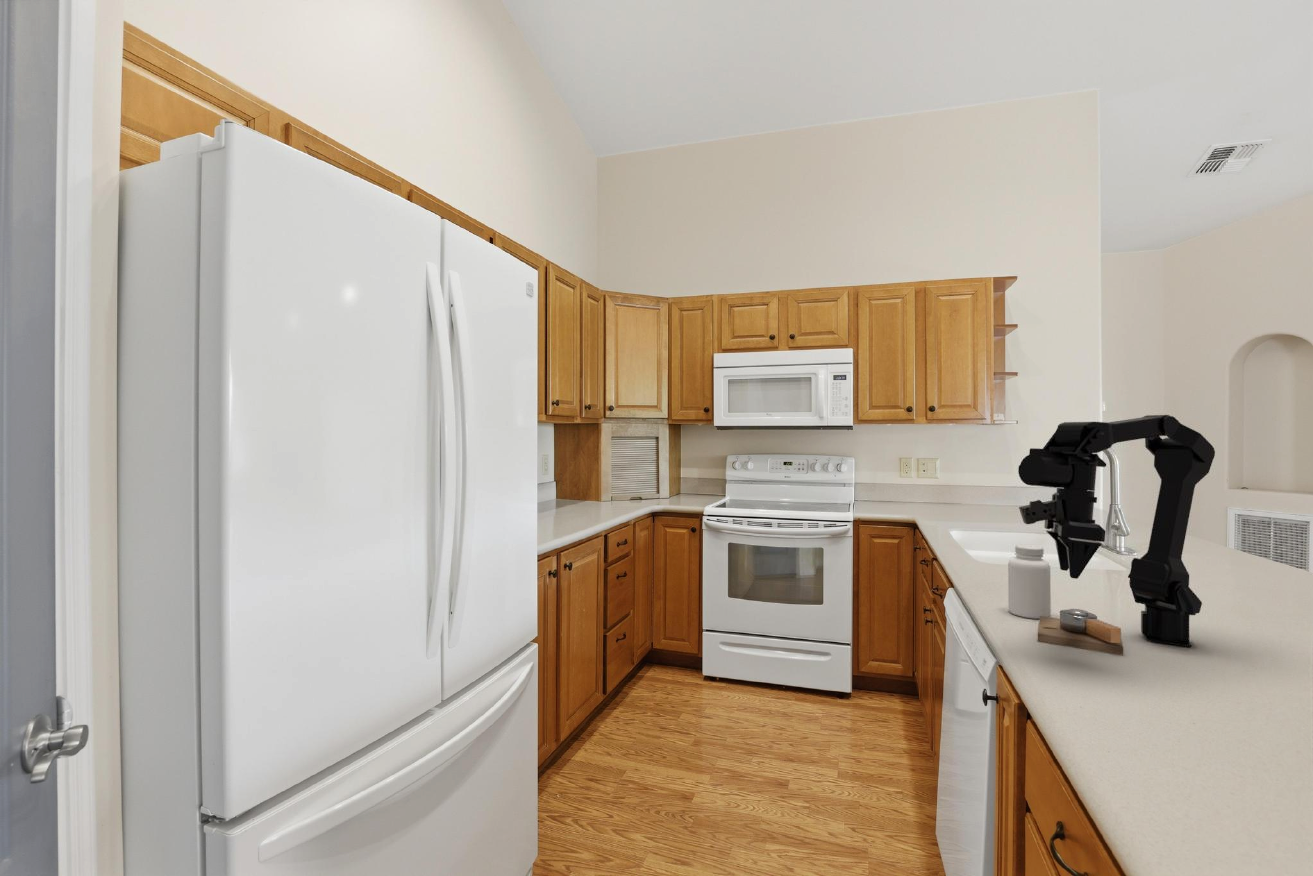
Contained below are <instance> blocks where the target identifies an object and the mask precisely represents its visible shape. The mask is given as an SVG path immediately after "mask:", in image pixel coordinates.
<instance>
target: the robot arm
mask: <svg viewBox="0 0 1313 876" xmlns="http://www.w3.org/2000/svg"><path fill="white" fill-rule="evenodd" d="M1162 437H1165V438H1162ZM1143 439H1144V440H1145V441H1144V442H1145V443H1144V447H1145V448H1146V449H1147V450H1148V451H1149V453H1151V455H1152V456H1153V457H1154V459H1153V468H1154V469H1155V471H1156V473H1157V475H1158V476H1159V478H1160V485H1159V486H1160V487H1159V492H1158V495H1157V502H1156V507H1155V512H1154V518H1153V523H1152V527H1151V533H1150V538H1149V543H1148V548H1147V551H1146V552H1145V554H1144V555H1143V556H1142V557H1140V558H1137V557H1134V558H1132V560H1131V564H1130V571H1129V573H1128V576H1127V578H1128V579H1129V583H1128V584H1129V588H1130V589H1131V592H1132V593H1131V594H1132V596H1133V599H1134V602H1135V603H1136V604H1141V605H1144V610H1141V611H1140V632H1141V634H1142V635H1143V636H1144V637H1145V640H1146V641H1148V642H1153V643H1154V642H1155V643H1161V644H1168V645H1176V646H1181V647H1187V648H1188V647H1189V648H1191V647H1192V643H1191V641H1190V616H1196V614H1200V613H1201V608H1202V605H1203V602H1202V600H1201V599H1200V598H1199V597H1198V595H1196V593H1195V592H1194V591H1193V589H1192V588H1190V574H1189V572H1188V569H1187V568H1186V565H1185V564H1184V562H1183V560H1182V558H1183V551H1184V545H1185V539H1186V536H1187V530H1188V526H1189V525H1188V524H1189V519H1190V514H1191V508H1192V504H1193V503H1192V502H1193V500H1194V499H1193V498H1194V493H1195V487H1196V485H1197V484H1198V483H1199V482H1201V481H1202V480H1203V479H1204V478H1205V477H1206V476H1207V475H1208V474H1209V473H1210V470H1211V467H1212V464H1213V461H1214V459H1215V456H1216V451H1215V448H1214V446H1213V445H1212V443H1210V442H1209V440H1207V439H1206V437H1205V436H1204V435H1202V433H1200V432H1198V430H1197V431H1196V430H1195V429H1192V428H1190V427H1189V426H1186V425H1184V424H1182V423H1181V422H1180V421H1179V420H1178V419H1177V418H1176V417H1174V416H1172V415H1169V414H1155V415H1154V414H1152V415H1151V414H1150V415H1149V414H1148V415H1145V416H1142V417H1136V418H1128V419H1122V420H1117V421H1116V420H1115V421H1110V422H1106V421H1072V422H1071V421H1064V422H1061V423H1059V424H1058V425H1057V427H1056V431H1055V432H1054V433H1053V434H1052V435H1051V437H1050V438H1049V439H1048V441H1047V442H1046V444H1045V445H1044V446H1043V448H1034V447H1033V448H1029V452H1028V453H1029V454H1028V455H1026V456H1025V457H1024V458H1023V459H1022V460H1021V462H1020V464H1019V465H1018V476H1019V479H1020V481H1022V482H1023V483H1024V484H1025V485H1027V486H1032V487H1043V488H1044V487H1045V488H1056V492H1054V493H1052V495H1051V500H1048V501H1041V499H1037V500H1033V501H1029V504H1026V505H1021V506H1018V509H1019V512H1020V515H1021V519H1022V522H1023V523H1024V524H1025V525H1032V524H1033V525H1034V524H1035V523H1037V522H1042V521H1044V529H1045V532H1046V533H1047V535H1048V536H1050V537H1051V538H1052V539H1053V540H1054V542H1055V543H1054V544H1055V547H1056V554H1057V559H1058V563H1059V569H1060V570H1061V571H1066V572H1067V571H1069V576H1070V578H1071V579H1079V577H1080V576H1081V575H1082V573H1083V572H1084V570H1085V568H1086V567H1087V565H1088V564H1089V562H1091V560H1092V558H1093V556H1094V555H1095V553H1096V552H1097V551H1098V550H1099V548H1100V547H1102V543H1105V541H1106V530H1105V529H1104V528H1103V527H1102V526H1101V525H1100V524H1098V523H1096V519H1093V517H1094V504H1095V503H1097V502H1098V497H1097V496H1095V494H1096V493H1095V491H1096V481H1097V479H1096V478H1097V477H1096V476H1097V467H1099V468H1106V467H1107V463H1106V462H1105V461H1104V460H1103V459H1102V458H1100V455H1098V453H1101V452H1103V451H1106V450H1108V449H1110V448H1112V446H1113V445H1115V444H1118V443H1122V442H1129V441H1130V442H1131V441H1136V440H1143Z"/></svg>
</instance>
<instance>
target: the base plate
mask: <svg viewBox="0 0 1313 876" xmlns="http://www.w3.org/2000/svg"><path fill="white" fill-rule="evenodd" d="M1115 626H1116V625H1115ZM1116 627H1118V626H1116ZM1122 641H1123V640H1121V643H1110V642H1107V641H1105V640H1102V639H1100V638H1097V637H1095V636H1093V635H1090V634H1084V633H1077V632H1072V631H1068V630H1065V629H1063V628H1061V627H1060V617H1052V616H1050V617H1045V616H1040V619H1039V620H1038V627H1037V642H1041V643H1047V644H1048V643H1049V644H1053V645H1060V646H1065V647H1072V648H1077V649H1078V648H1079V649H1083V650H1091V651H1095V652H1096V651H1097V652H1102V653H1103V652H1104V653H1111V654H1116V655H1120V656H1124V645H1123V642H1122Z"/></svg>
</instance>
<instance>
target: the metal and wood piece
mask: <svg viewBox="0 0 1313 876" xmlns="http://www.w3.org/2000/svg"><path fill="white" fill-rule="evenodd" d="M1059 618H1060V627H1061V628H1063V629H1065V630H1068V631H1072V632H1077V633H1084V634H1090V635H1093V636H1095V637H1097V638H1100V639H1102V640H1105V641H1107V642H1110V643H1121V641H1122V628H1121V627H1119V626H1117V627H1116V625H1113V624H1111V623H1108V622H1105V621H1103V620H1100V619H1098V615H1097V614H1095V613H1093V612H1092V613H1091V612H1090V611H1087V610H1084V609H1081V608H1080V609H1079V608H1069V609H1062V610H1060V611H1059Z"/></svg>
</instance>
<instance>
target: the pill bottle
mask: <svg viewBox="0 0 1313 876" xmlns="http://www.w3.org/2000/svg"><path fill="white" fill-rule="evenodd" d="M1014 549H1015V551H1014V552H1015V553H1014V555H1015V556H1014V557H1011V558H1009V561H1008V563H1007V573H1008V574H1007V575H1008V576H1007V577H1008V579H1007V580H1008V581H1007V582H1008V583H1007V586H1008V589H1007V591H1008V594H1007V595H1008V597H1007V598H1008V611H1009V613H1011V614H1012V615H1015V616H1018V617H1021V618H1027V619H1035V620H1037V619H1040V616H1045V617H1051V614H1052V613H1051V611H1052V609H1051V607H1052V606H1051V605H1052V602H1051V600H1052V599H1051V587H1052V586H1051V565H1050V564H1049V562H1048V561H1047V560H1046V559H1044V558H1043V557H1044V547H1043V546H1039V545H1033V544H1031V545H1030V544H1017V545H1015V546H1014Z"/></svg>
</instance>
